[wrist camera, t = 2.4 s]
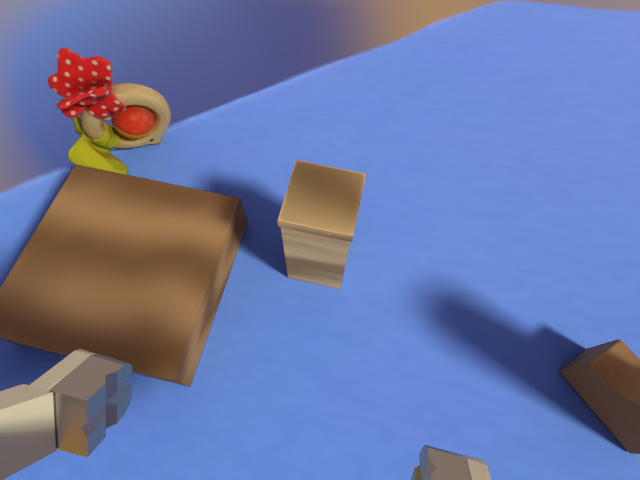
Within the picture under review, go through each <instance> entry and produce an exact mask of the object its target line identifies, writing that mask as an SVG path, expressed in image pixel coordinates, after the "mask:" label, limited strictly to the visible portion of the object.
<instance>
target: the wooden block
mask: <svg viewBox="0 0 640 480" xmlns="http://www.w3.org/2000/svg"><path fill="white" fill-rule="evenodd" d="M560 373H561V374H562V376H563V377H564V378H565V379H566V380H567V381H568V382H569V384H570V385H571V386H572V387H573V388H574V389H575V391H576V392H577V393H578V394H579V395H580V396H581V397H582V399H583V400H584V401H585V402H586V403H587V405H588V406H589V407H590V408H591V409H592V410H593V412H594V413H595V414H596V415H597V416H598V417H599V419H600V420H601V421H602V422H603V423H604V424H605V426H606V427H607V428H608V429H609V430H610V431H611V433H612V434H613V435H614V436H615V437H616V439H617V440H618V441H619V442H620V443H621V444H622V446H623V447H624V448H625V449H626V450H627V451H628V452H629V453H634V454H640V359H639V358H638V357H637V356H636V355H635V354H634V353H633V352H632V351H631V350H630V349H629V348H628V347H627V346H626V345H625V344H624V343H623V341H621V340H615V341H611V342H608V343H605V344H601V345H598V346H595V347H591V348H588V349H586V350H585V351H583V352H582V353H581V354H580V355H578V356H577V357H576V358H575V359H574V360H572V361H571V362H570V363H569V364H567V365H566V366H565V367H564V368H563V369H561V371H560Z"/></svg>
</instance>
